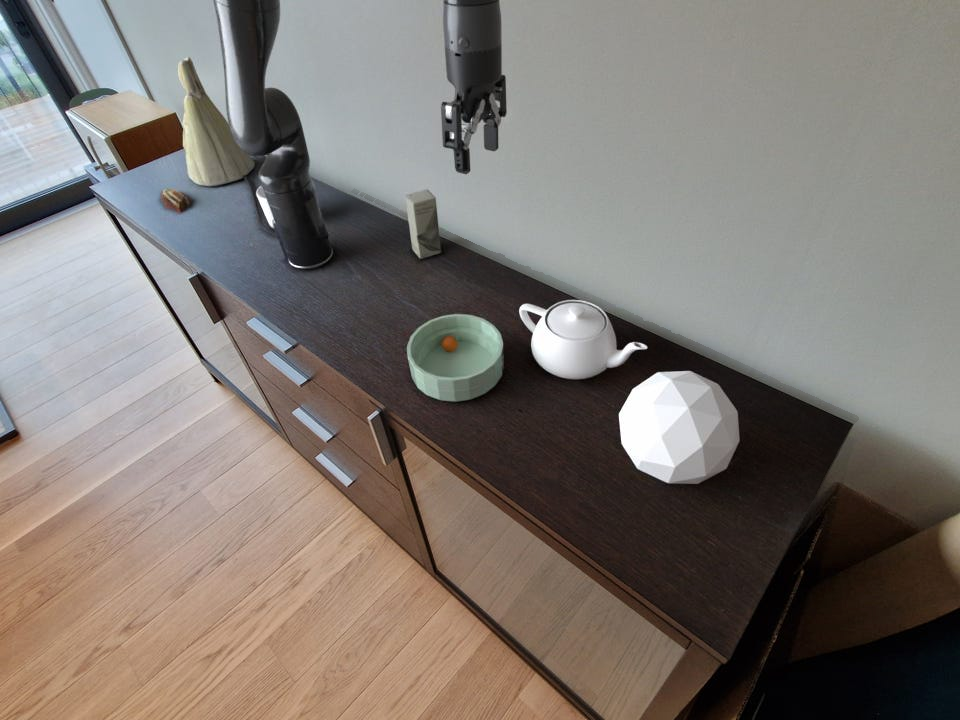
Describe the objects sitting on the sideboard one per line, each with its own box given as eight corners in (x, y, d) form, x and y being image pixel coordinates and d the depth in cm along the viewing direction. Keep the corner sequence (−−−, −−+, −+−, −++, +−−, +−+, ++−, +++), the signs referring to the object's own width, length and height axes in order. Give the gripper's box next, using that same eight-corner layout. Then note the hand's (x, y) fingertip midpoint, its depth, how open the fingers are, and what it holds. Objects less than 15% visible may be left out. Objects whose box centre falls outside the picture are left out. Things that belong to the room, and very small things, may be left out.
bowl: (394, 385, 86) (388, 361, 82) (441, 328, 95) (438, 304, 91) (476, 416, 80) (474, 392, 76) (518, 353, 89) (518, 328, 86)
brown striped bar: (150, 197, 137) (147, 191, 136) (171, 189, 140) (167, 183, 139) (177, 214, 130) (173, 207, 129) (197, 204, 133) (194, 198, 132)
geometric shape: (641, 494, 75) (588, 458, 66) (658, 398, 81) (611, 352, 71) (748, 508, 65) (704, 468, 56) (760, 398, 71) (721, 344, 61)
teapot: (498, 358, 89) (496, 309, 81) (540, 314, 96) (542, 265, 89) (618, 415, 79) (629, 365, 71) (655, 361, 86) (668, 310, 79)
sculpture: (212, 150, 153) (205, 45, 131) (266, 182, 153) (269, 82, 131) (167, 174, 142) (151, 64, 120) (225, 208, 142) (220, 105, 120)
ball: (440, 352, 90) (438, 341, 88) (447, 342, 91) (446, 331, 89) (453, 356, 89) (452, 345, 87) (460, 347, 90) (459, 335, 88)
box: (420, 260, 111) (411, 204, 102) (412, 250, 114) (403, 194, 104) (442, 252, 112) (436, 196, 103) (434, 243, 115) (427, 187, 106)
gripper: (475, 24, 74) (479, 138, 86) (418, 52, 66) (431, 175, 78) (523, 29, 72) (520, 147, 83) (469, 59, 63) (475, 186, 75)
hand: (477, 160), depth 80 cm, fingers open, 8 cm apart
